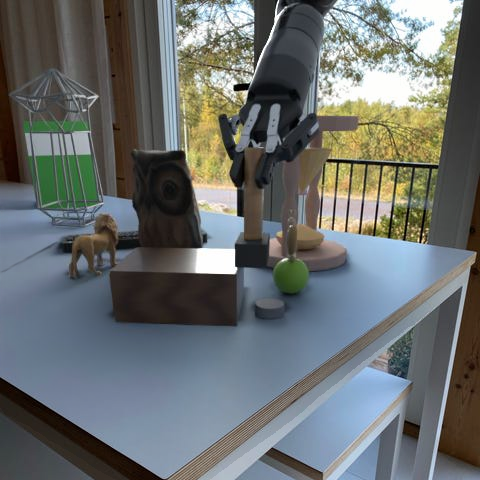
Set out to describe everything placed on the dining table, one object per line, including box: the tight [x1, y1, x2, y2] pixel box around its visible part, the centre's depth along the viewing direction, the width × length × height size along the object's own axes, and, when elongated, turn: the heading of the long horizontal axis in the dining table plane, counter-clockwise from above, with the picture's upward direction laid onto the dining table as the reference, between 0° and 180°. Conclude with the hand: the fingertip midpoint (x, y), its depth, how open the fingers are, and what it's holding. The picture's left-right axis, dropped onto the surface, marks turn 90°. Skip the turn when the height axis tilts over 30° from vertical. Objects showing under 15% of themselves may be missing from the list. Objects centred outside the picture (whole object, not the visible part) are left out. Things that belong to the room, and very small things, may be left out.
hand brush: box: [234, 146, 271, 269], centre depth 60 cm, size 4×7×14 cm, turn 174°
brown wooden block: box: [108, 247, 245, 327], centre depth 66 cm, size 17×12×7 cm
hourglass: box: [267, 115, 360, 272], centre depth 86 cm, size 18×18×25 cm
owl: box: [130, 148, 204, 249], centre depth 83 cm, size 13×13×20 cm
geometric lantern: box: [8, 68, 105, 228], centre depth 113 cm, size 16×16×35 cm
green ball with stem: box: [272, 209, 310, 294], centre depth 71 cm, size 5×6×12 cm
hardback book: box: [22, 120, 98, 209], centre depth 141 cm, size 18×7×24 cm, turn 110°
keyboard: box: [61, 229, 208, 253], centre depth 103 cm, size 30×11×2 cm, turn 107°
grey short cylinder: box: [254, 297, 285, 320], centre depth 64 cm, size 4×4×2 cm
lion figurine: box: [68, 212, 119, 281], centre depth 82 cm, size 15×5×9 cm, turn 171°
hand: (247, 183), depth 57 cm, fingers closed on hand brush, 2 cm apart
